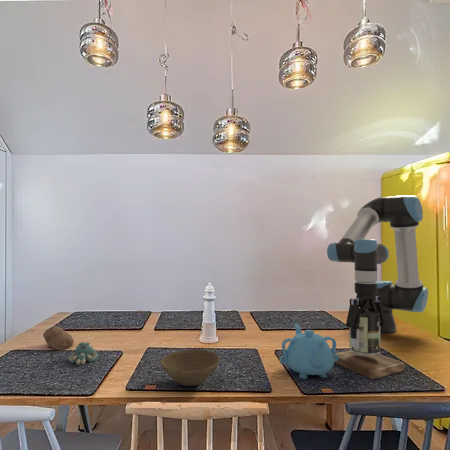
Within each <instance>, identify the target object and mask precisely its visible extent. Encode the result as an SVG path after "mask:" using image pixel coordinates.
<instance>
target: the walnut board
mask: <svg viewBox="0 0 450 450" xmlns="http://www.w3.org/2000/svg"><path fill="white" fill-rule="evenodd" d="M335 354H337V355H338V360H337V361H336V362H334V364H336V365H338V366H340V365H341V367H342V368H346V369H347V368H348V370H350V371H352V372H354V373H357V374H359V375H361V376H364V377H366V378H369V379H371V380H375V379H379V378H382V377H385V376H389V375H393V374H397V373H400V372H403V371H405V370H406V369H405V366H406V364H405V362H402V361H401V360H397V359H395V358H393V357H392V358H391V357H389V356H386V355H383V354H381V353H379V354H378V355H371V356H370V355H360V354H356V353H353V352H351V351H350V350H346V351H342V352H341V351H340V352H337V353H335ZM335 357H336V356H334V357H333V358H335Z"/></svg>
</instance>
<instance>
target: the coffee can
mask: <svg viewBox="0 0 450 450" xmlns="http://www.w3.org/2000/svg"><path fill="white" fill-rule="evenodd" d="M379 315H380V312H378V311H376V312H372V311H369V310H368V309H366V310H365V312H363V314H360V313H356V316H360V323H359V325H358V328H357V329H359V349H357V348H354V347H352V338H351V329H350V328H349V327H348V329H349V330H348V331H349V339H348V340H349V350H348V351H351V352H353V353H356V354H360V355H370V356H371V355H378V354H381V352H380V351H381V349H380V345H381V337H380V338H379ZM354 326H355V324H354Z"/></svg>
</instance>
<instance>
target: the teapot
mask: <svg viewBox="0 0 450 450" xmlns="http://www.w3.org/2000/svg"><path fill="white" fill-rule="evenodd" d="M294 327H295V335H294V336H293V338H291V337H289V338H288V337H287V338H286V339H284V340H283V341H282V342H281V349H282V355H281V356H280V357H279V362H280V363H281V364H283V365H286V364H287V366H288V367H289V368H290V369H291V370H292V371H293V372H296V373H298V378H299V379H301V378H302V380H306V378H307V379H308V375H309V376H310V375H311V376H316V375H317V376H318V377H320V378H321V379H323V378H325V379H326V378H328V375H327V373H328V372H329V371H330V370H332V368H333V367H334V364H335V363H334V362H336V361H337V360H338V355H337V354H336V353H335V352H336V348H337V340H335V338H333V337H331V336H323V335H320V334H319V333H315V330H312V329H305V330H304V332H302V329H301V327H300V324H298V323H294ZM327 341H331V342H332V346H331V347H330V345H329V344H328V342H327ZM288 342H289V344H288V346H287V348H286V344H287V343H288ZM334 356H336V357H335V358H333V357H334ZM283 358H284V359H283Z"/></svg>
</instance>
